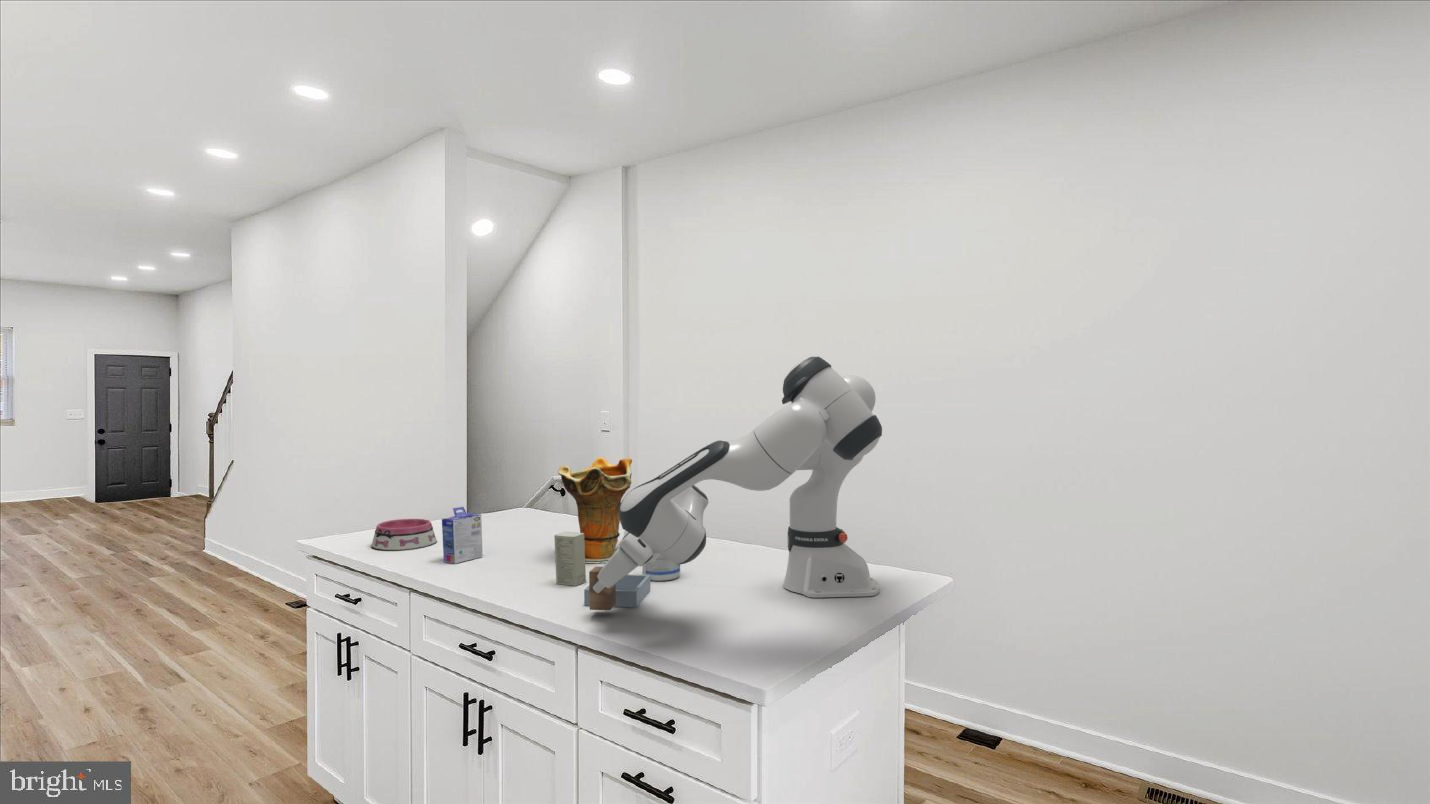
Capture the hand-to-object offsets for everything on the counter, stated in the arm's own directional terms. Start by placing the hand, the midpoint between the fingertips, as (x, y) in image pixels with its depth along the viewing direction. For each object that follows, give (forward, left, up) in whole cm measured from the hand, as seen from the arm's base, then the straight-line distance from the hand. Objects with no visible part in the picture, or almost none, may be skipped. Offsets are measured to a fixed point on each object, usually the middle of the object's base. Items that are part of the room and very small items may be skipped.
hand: (599, 586), depth 155 cm
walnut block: (-1, 0, -4) cm, 4 cm away
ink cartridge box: (+52, -43, -6) cm, 68 cm away
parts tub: (-1, -13, -6) cm, 14 cm away
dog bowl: (+80, -60, -7) cm, 100 cm away
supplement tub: (-7, -31, -6) cm, 32 cm away
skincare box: (+14, -23, -6) cm, 28 cm away
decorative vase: (+15, -51, -6) cm, 54 cm away
